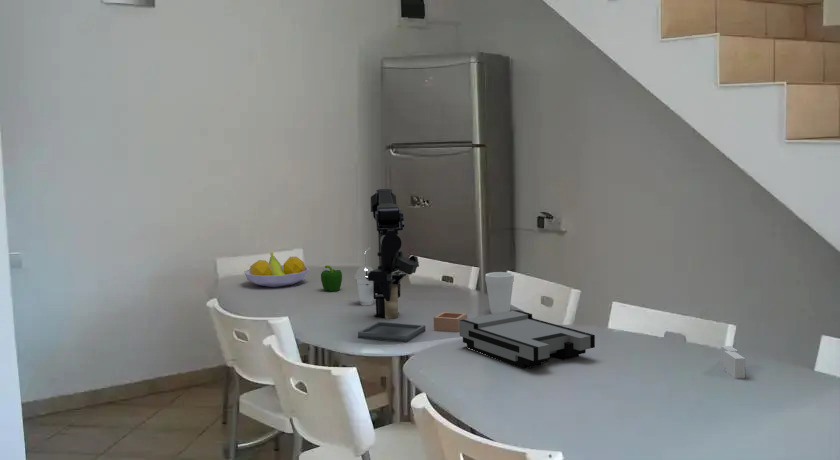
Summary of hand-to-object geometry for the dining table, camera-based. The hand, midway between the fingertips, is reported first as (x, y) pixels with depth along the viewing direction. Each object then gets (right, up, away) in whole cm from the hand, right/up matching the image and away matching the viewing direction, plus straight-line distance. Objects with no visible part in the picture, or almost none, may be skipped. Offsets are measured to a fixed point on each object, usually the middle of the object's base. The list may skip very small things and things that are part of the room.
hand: (391, 299), depth 243 cm
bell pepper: (-26, -3, +74) cm, 79 cm away
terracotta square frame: (+18, -10, +7) cm, 22 cm away
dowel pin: (0, -6, +1) cm, 6 cm away
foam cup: (+36, -7, +27) cm, 45 cm away
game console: (+37, -13, -23) cm, 46 cm away
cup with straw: (-10, -6, +47) cm, 48 cm away
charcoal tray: (0, -11, +1) cm, 11 cm away
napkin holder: (+86, -14, -44) cm, 98 cm away
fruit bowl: (-50, -2, +92) cm, 105 cm away
